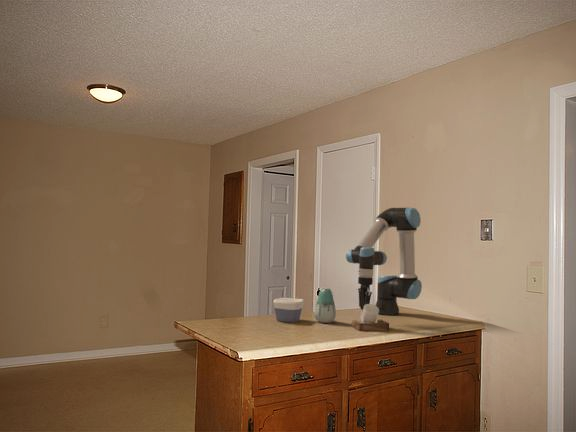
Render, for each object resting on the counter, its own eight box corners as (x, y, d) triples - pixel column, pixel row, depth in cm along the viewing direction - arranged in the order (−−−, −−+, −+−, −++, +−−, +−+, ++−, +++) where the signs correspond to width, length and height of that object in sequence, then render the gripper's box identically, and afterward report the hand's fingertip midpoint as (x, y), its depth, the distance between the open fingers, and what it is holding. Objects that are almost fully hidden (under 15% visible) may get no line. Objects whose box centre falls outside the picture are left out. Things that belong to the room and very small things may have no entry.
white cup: (366, 330, 247) (370, 315, 243) (356, 321, 253) (360, 305, 248) (378, 326, 251) (382, 311, 247) (368, 317, 257) (372, 302, 252)
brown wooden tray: (352, 326, 251) (352, 320, 251) (380, 326, 255) (380, 319, 255) (359, 330, 242) (359, 323, 242) (389, 330, 246) (389, 323, 246)
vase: (311, 322, 259) (312, 289, 259) (317, 319, 270) (318, 286, 270) (332, 324, 255) (333, 290, 255) (338, 321, 266) (339, 288, 266)
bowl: (269, 321, 259) (270, 300, 260) (280, 316, 273) (281, 297, 274) (296, 324, 253) (296, 302, 254) (306, 319, 268) (306, 299, 268)
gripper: (354, 275, 261) (351, 319, 260) (363, 277, 249) (361, 324, 248) (367, 275, 263) (364, 319, 262) (377, 278, 250) (374, 324, 250)
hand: (363, 321), depth 255 cm, fingers closed
